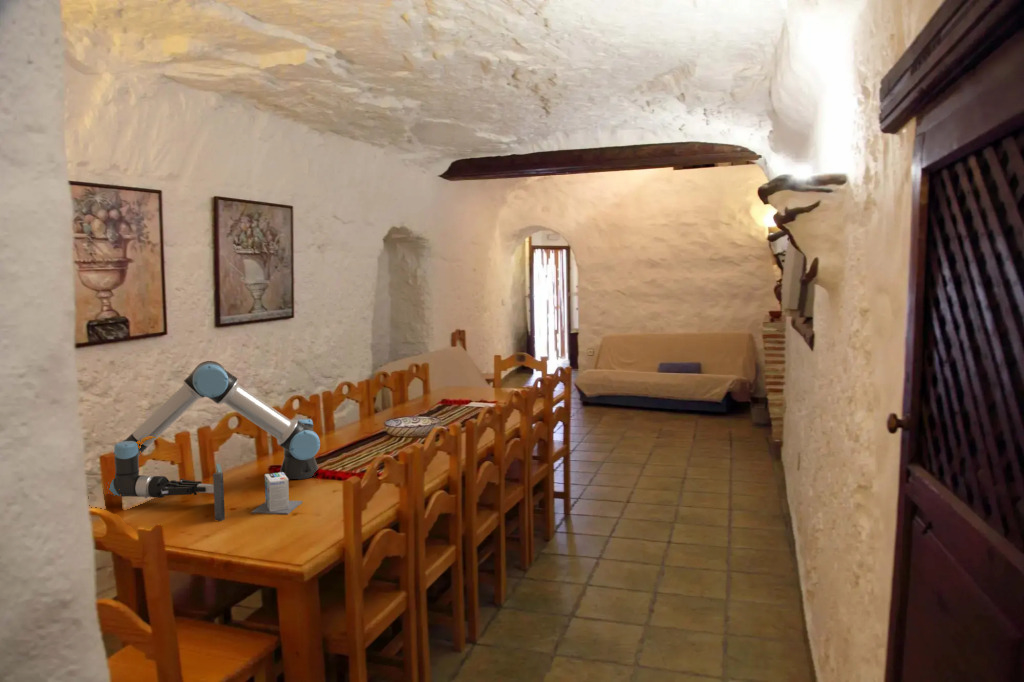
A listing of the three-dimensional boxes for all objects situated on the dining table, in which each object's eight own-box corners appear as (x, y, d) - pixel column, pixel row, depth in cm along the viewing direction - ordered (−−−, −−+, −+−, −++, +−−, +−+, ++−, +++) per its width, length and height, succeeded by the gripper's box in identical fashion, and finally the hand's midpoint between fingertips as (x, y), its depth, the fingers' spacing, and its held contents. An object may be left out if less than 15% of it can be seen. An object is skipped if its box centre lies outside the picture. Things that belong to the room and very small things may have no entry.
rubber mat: (268, 501, 259) (268, 499, 259) (302, 502, 258) (302, 500, 258) (251, 513, 247) (251, 511, 247) (287, 514, 245) (287, 512, 245)
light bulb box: (265, 503, 255) (263, 473, 254) (284, 500, 258) (283, 471, 257) (269, 512, 246) (268, 481, 245) (290, 509, 249) (289, 478, 248)
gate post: (218, 518, 241) (216, 472, 240) (224, 518, 241) (222, 472, 240) (215, 520, 239) (213, 474, 238) (221, 520, 239) (219, 474, 238)
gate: (217, 501, 258) (216, 463, 257) (221, 501, 258) (219, 463, 257) (220, 516, 242) (219, 476, 240) (224, 516, 242) (222, 475, 241)
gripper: (164, 491, 262) (225, 493, 259) (142, 502, 249) (206, 505, 246) (163, 471, 261) (225, 473, 259) (141, 481, 248) (205, 483, 246)
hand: (215, 488), depth 252 cm, fingers closed
